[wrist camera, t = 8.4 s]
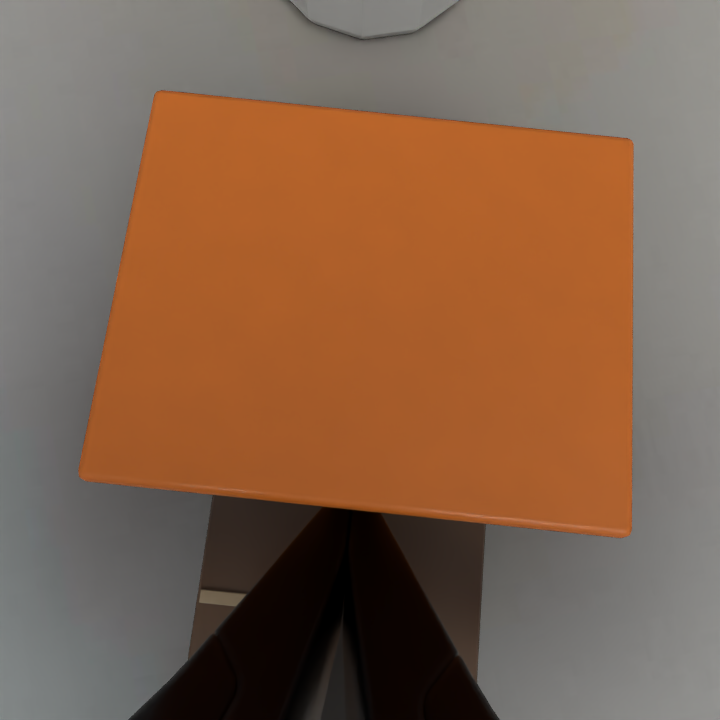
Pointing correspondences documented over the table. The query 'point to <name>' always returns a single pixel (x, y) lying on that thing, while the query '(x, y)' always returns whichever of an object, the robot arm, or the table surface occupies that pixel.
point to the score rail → (428, 561)
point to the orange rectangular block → (373, 316)
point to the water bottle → (372, 15)
